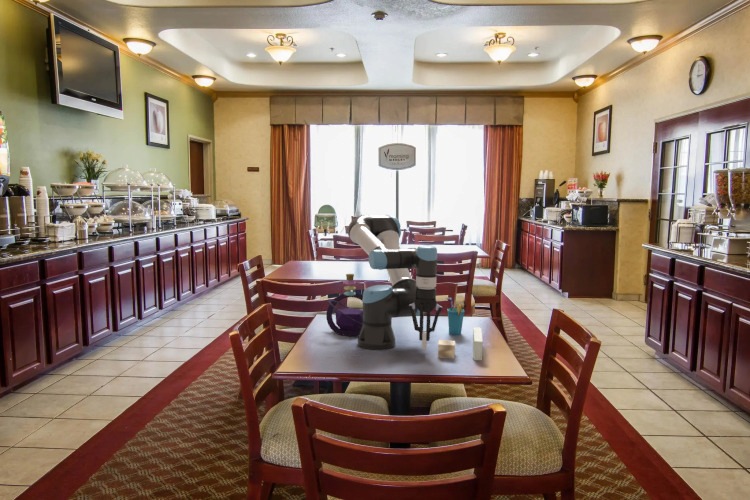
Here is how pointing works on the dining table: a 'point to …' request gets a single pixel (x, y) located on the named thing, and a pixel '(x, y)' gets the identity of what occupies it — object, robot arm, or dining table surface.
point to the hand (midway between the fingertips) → (424, 348)
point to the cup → (455, 319)
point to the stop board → (477, 343)
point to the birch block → (446, 349)
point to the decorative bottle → (346, 312)
